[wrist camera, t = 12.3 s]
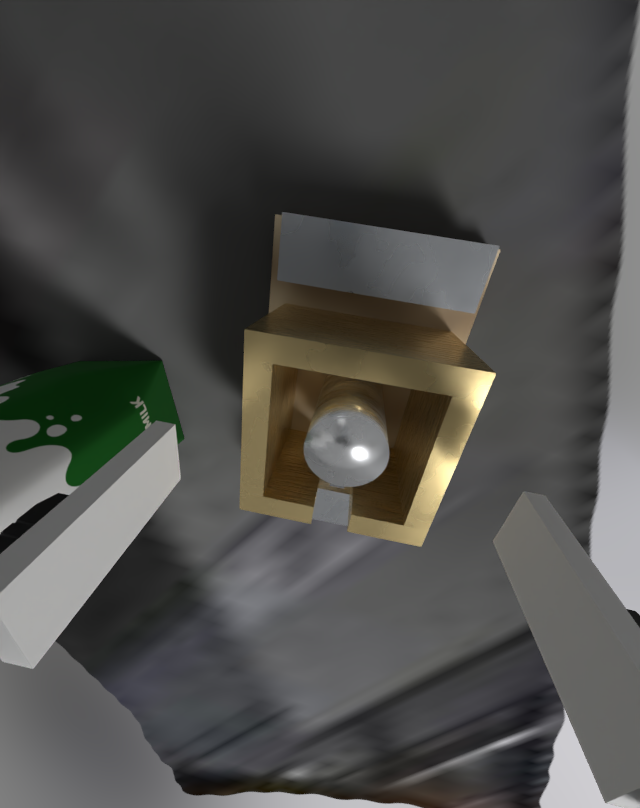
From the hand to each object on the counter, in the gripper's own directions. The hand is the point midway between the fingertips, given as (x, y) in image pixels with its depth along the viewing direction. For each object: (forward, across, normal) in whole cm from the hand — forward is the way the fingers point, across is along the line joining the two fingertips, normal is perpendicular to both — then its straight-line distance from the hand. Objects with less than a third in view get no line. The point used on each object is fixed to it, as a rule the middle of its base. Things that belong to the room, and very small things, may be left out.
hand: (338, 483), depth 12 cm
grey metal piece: (+10, 0, -1) cm, 10 cm away
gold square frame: (+10, 0, -1) cm, 10 cm away
